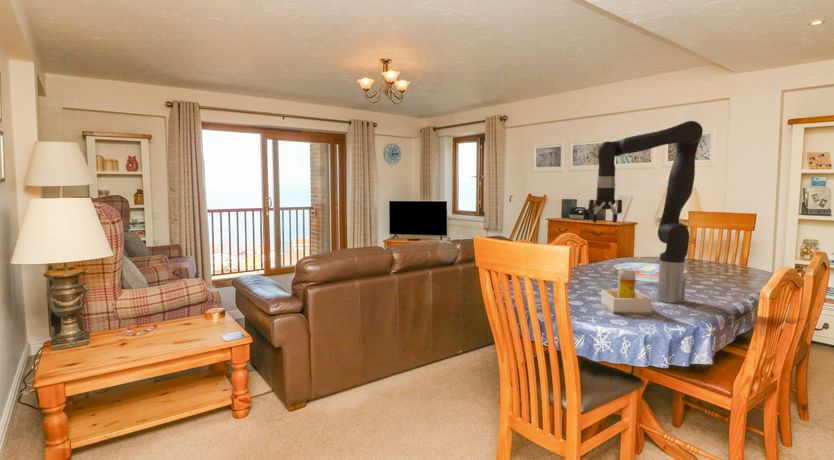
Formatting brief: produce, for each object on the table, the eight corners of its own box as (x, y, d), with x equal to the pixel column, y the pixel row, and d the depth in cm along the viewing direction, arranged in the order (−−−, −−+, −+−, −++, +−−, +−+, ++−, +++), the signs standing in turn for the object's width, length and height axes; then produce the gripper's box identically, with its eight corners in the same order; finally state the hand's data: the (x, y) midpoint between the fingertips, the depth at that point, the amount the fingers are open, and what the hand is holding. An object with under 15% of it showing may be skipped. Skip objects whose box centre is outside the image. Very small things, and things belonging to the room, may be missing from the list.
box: (635, 304, 188) (636, 290, 187) (650, 314, 174) (651, 299, 174) (600, 303, 189) (601, 289, 188) (613, 313, 175) (613, 298, 175)
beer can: (635, 309, 178) (637, 271, 176) (618, 308, 179) (620, 271, 177) (631, 304, 184) (633, 268, 182) (615, 304, 185) (617, 268, 183)
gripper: (619, 186, 207) (617, 221, 209) (587, 186, 208) (585, 221, 210) (625, 186, 200) (623, 223, 201) (592, 187, 200) (590, 223, 202)
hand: (604, 222), depth 206 cm, fingers open, 8 cm apart
